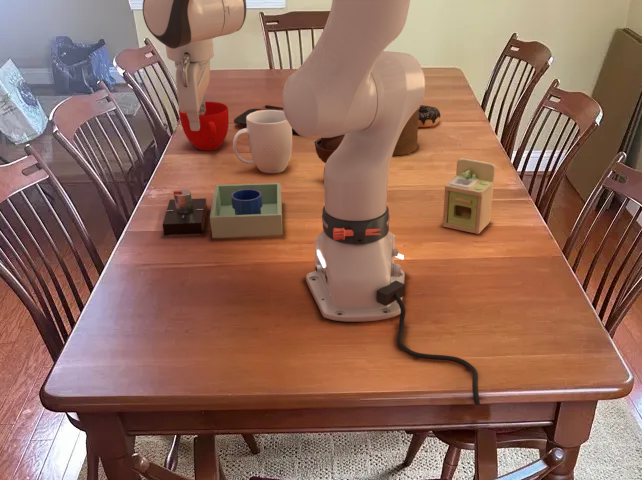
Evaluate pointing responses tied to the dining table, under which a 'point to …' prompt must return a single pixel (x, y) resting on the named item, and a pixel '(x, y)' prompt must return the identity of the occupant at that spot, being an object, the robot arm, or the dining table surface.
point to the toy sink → (469, 196)
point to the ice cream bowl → (327, 146)
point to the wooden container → (408, 136)
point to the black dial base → (185, 219)
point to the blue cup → (247, 202)
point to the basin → (246, 225)
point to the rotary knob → (183, 201)
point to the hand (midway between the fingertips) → (198, 121)
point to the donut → (428, 116)
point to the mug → (267, 140)
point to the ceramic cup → (208, 126)
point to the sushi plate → (242, 118)
